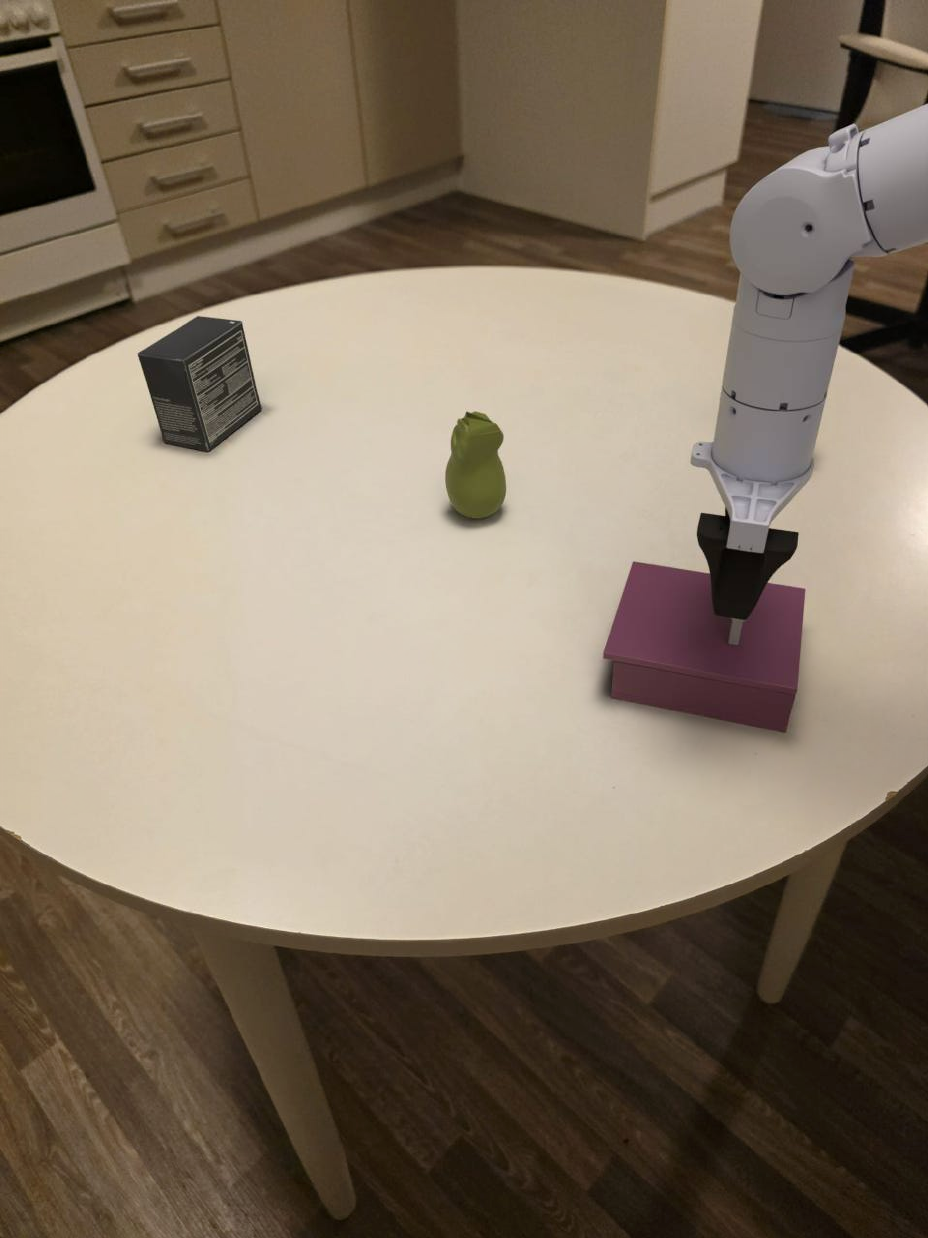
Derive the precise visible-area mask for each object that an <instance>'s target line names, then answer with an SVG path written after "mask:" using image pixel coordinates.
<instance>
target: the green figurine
mask: <svg viewBox="0 0 928 1238" xmlns="http://www.w3.org/2000/svg"><path fill="white" fill-rule="evenodd" d="M450 437H451V438H450V456H449V458H448V461H447V464H446V466H445V473H444V483H445V489H446V493H447V497H448V499H449V501H450V504H451V505H452V507H453V508H454V509H455V511H457V512H458V513H459V514H460V515H462V516H464V517H466V518H470V519H471V518H472V519H484V518H487V517H489V516H491V515H494V514H495V513H496V512H497V511H498V510H499V509H500V508H501V507H502V505H503V503H504V501H505V500H506V499H505V498H506V495H507V481H506V473H505V469H504V465H503V462H502V460H501V457H500V456H499V449H500V448H501V446H502V445H503V442H504V438H505V436H504V432H503V431H502V430H501V428H500V426H499V425H498V424H497V423H496V422H494V421H492V420H491V419H490V417H489V416H488V415H487V414H486V413H483V412H479V411H472V412H469V411H465V414H464V416H463V417H462V418H458V419H457V421H456V424H455V426H454V428H453V429H452V433H451V436H450Z"/></svg>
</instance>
